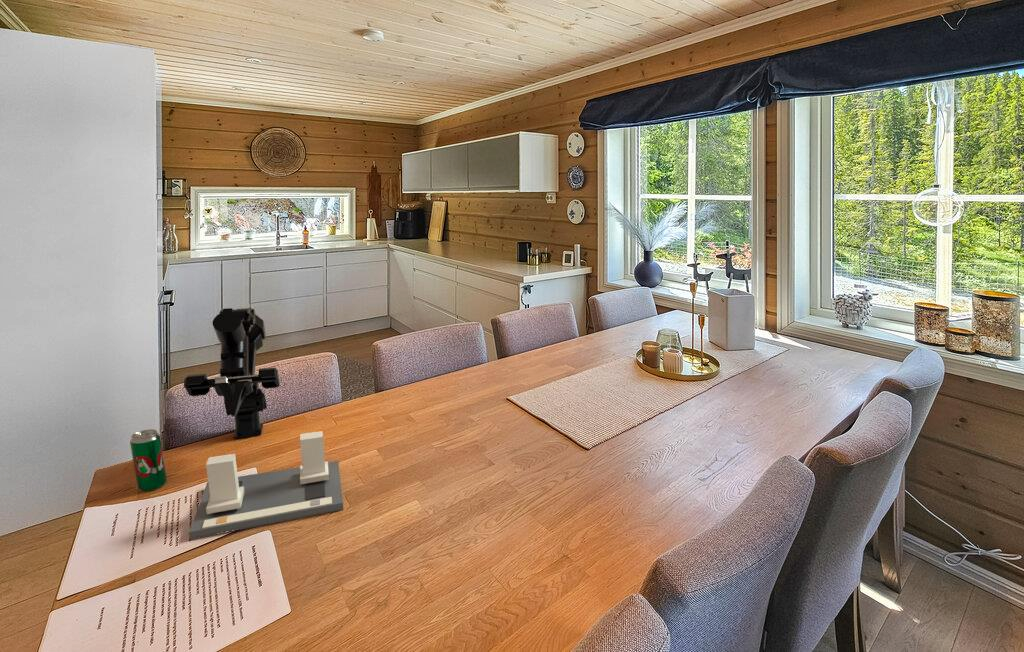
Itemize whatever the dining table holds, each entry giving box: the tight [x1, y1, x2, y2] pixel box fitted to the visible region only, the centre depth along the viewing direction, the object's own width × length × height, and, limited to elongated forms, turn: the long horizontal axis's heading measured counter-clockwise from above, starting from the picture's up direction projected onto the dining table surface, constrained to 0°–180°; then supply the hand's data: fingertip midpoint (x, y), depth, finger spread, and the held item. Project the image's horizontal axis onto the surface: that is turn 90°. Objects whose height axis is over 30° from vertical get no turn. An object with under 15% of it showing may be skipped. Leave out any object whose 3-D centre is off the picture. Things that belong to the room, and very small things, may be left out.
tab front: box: [205, 453, 244, 514], centre depth 95 cm, size 6×6×9 cm
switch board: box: [188, 460, 344, 540], centre depth 101 cm, size 18×26×2 cm
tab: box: [299, 430, 329, 484], centre depth 105 cm, size 6×6×9 cm
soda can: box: [129, 429, 168, 492], centre depth 103 cm, size 5×5×12 cm
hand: (233, 415), depth 110 cm, fingers closed
